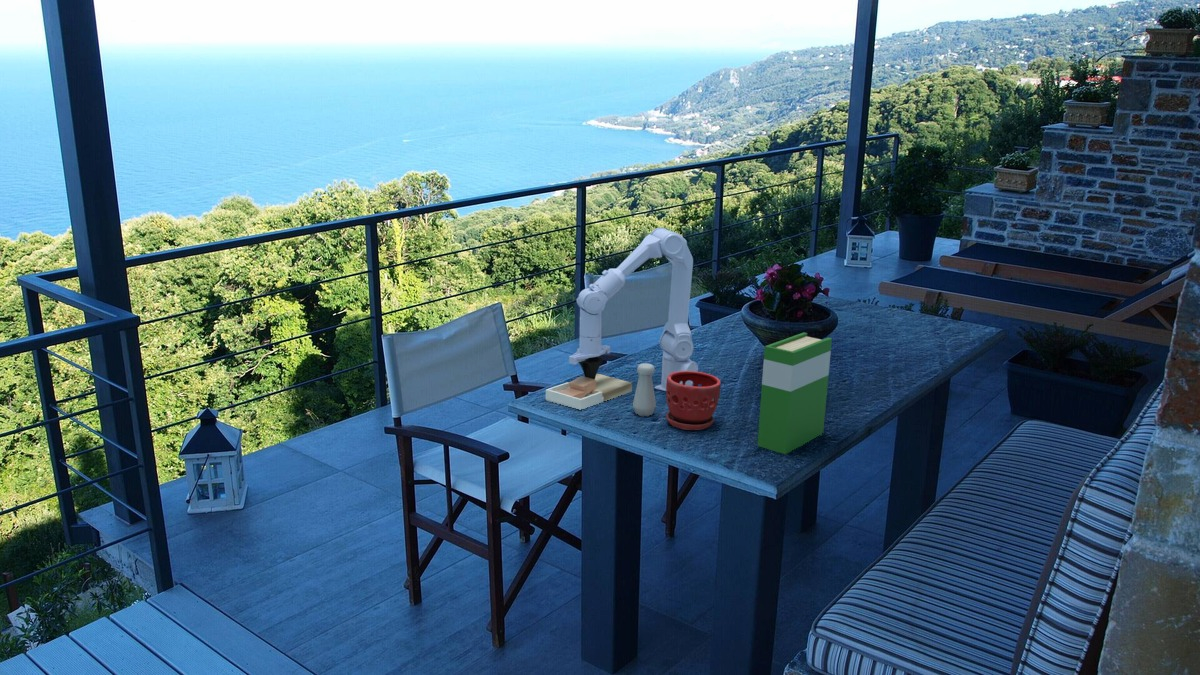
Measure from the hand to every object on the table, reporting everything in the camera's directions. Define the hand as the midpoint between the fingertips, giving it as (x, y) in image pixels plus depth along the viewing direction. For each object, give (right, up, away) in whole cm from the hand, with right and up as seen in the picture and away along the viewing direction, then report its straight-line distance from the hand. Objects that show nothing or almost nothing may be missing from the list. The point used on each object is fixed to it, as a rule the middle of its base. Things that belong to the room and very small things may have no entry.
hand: (589, 384), depth 249 cm
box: (-4, -4, -4) cm, 7 cm away
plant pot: (+25, -9, -18) cm, 32 cm away
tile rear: (-2, -1, -2) cm, 3 cm away
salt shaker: (+14, -7, -12) cm, 19 cm away
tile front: (-5, -4, -5) cm, 8 cm away
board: (+3, -2, +4) cm, 6 cm away
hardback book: (+48, -12, -27) cm, 56 cm away
